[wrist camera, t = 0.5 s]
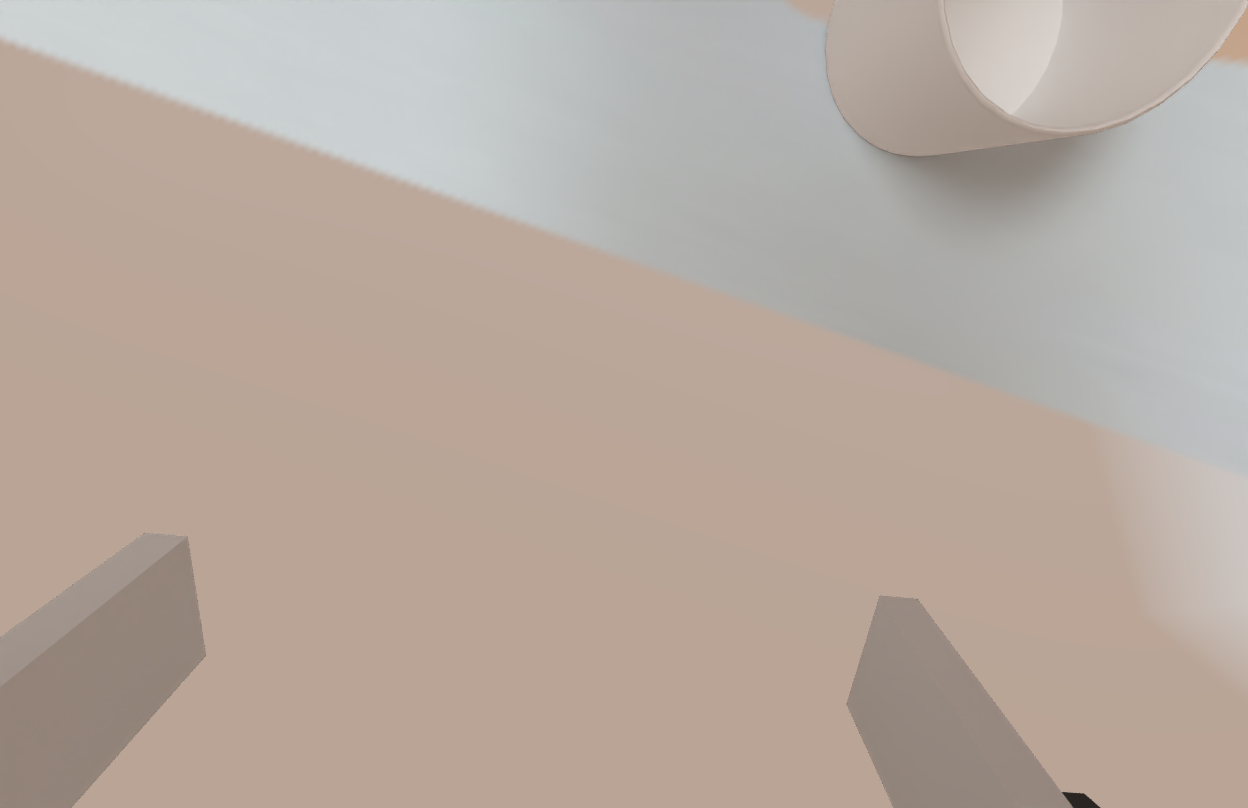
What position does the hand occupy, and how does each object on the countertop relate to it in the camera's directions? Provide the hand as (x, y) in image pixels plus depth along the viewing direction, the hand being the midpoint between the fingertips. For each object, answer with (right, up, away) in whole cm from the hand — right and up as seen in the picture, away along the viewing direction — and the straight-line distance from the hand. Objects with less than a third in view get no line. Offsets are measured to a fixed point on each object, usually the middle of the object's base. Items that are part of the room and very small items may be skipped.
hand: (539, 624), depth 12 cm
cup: (+18, +24, +21) cm, 36 cm away
